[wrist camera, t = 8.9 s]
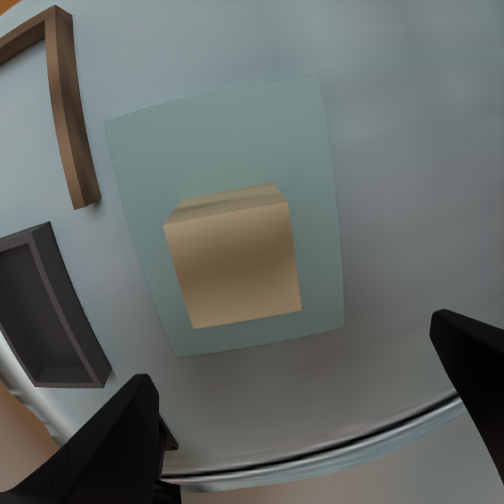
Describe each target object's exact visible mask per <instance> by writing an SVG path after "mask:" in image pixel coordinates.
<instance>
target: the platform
mask: <svg viewBox="0 0 504 504" xmlns="http://www.w3.org/2000/svg"><path fill="white" fill-rule="evenodd" d="M104 125H105V130H106V135H107V140H108V145H109V150H110V154H111V159H112V163H113V168H114V172H115V176H116V180H117V184H118V188H119V192H120V196H121V200H122V204H123V207H124V211H125V215H126V218H127V222H128V225H129V229H130V232H131V235H132V239H133V242H134V245H135V249H136V252H137V255H138V258H139V261H140V264H141V268H142V271H143V274H144V277H145V280H146V282H147V285H148V288H149V291H150V294H151V297H152V300H153V302H154V305H155V308H156V311H157V313H158V316H159V319H160V321H161V324H162V326H163V329H164V332H165V334H166V337H167V339H168V342H169V344H170V347H171V349H172V352H173V354H174V356H175V358H179V357H187V356H195V355H202V354H209V353H216V352H223V351H229V350H236V349H242V348H248V347H254V346H259V345H265V344H270V343H276V342H281V341H286V340H291V339H296V338H301V337H306V336H310V335H315V334H319V333H324V332H328V331H333V330H337V329H341V328H345V313H344V287H343V268H342V253H341V239H340V227H339V216H338V206H337V196H336V187H335V179H334V171H333V163H332V155H331V148H330V141H329V135H328V128H327V122H326V116H325V110H324V104H323V98H322V93H321V87H320V82H319V77H318V78H305V79H295V80H286V81H277V82H269V83H262V84H255V85H249V86H243V87H237V88H231V89H226V90H221V91H216V92H211V93H206V94H201V95H197V96H192V97H188V98H184V99H180V100H176V101H172V102H168V103H164V104H160V105H157V106H153V107H150V108H146V109H143V110H139V111H136V112H133V113H130V114H127V115H123V116H120V117H117V118H114V119H111V120H109V121H106V122H104ZM266 183H273V184H274V185H275V187H276V188H277V189H278V190H279V191H280V193H281V194H282V195H283V196H284V198H285V199H286V200H287V201H288V207H289V214H290V221H291V228H292V236H293V243H294V251H295V258H296V266H297V274H298V283H299V291H300V300H301V309H302V310H300V311H295V312H290V313H285V314H280V315H274V316H269V317H264V318H258V319H252V320H247V321H241V322H235V323H229V324H223V325H216V326H210V327H203V328H196V329H193V326H192V323H191V320H190V317H189V314H188V311H187V307H186V304H185V301H184V298H183V295H182V291H181V288H180V285H179V281H178V278H177V275H176V271H175V268H174V264H173V261H172V257H171V254H170V250H169V247H168V243H167V239H166V235H165V232H164V228H163V225H164V223H165V222H166V220H167V219H168V218H169V216H170V215H171V214H172V212H173V211H174V210H175V208H176V207H177V206H178V204H179V203H180V202H181V200H183V199H188V198H193V197H197V196H202V195H207V194H212V193H217V192H222V191H227V190H233V189H238V188H244V187H249V186H255V185H260V184H266Z"/></svg>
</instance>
